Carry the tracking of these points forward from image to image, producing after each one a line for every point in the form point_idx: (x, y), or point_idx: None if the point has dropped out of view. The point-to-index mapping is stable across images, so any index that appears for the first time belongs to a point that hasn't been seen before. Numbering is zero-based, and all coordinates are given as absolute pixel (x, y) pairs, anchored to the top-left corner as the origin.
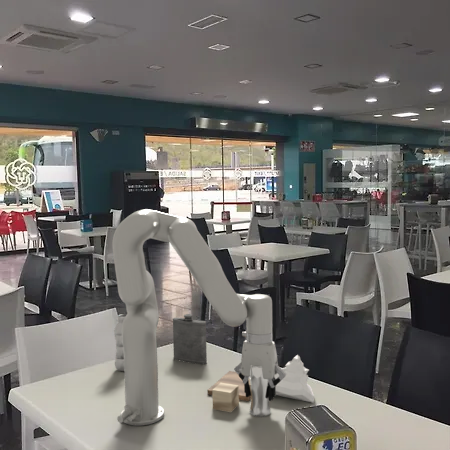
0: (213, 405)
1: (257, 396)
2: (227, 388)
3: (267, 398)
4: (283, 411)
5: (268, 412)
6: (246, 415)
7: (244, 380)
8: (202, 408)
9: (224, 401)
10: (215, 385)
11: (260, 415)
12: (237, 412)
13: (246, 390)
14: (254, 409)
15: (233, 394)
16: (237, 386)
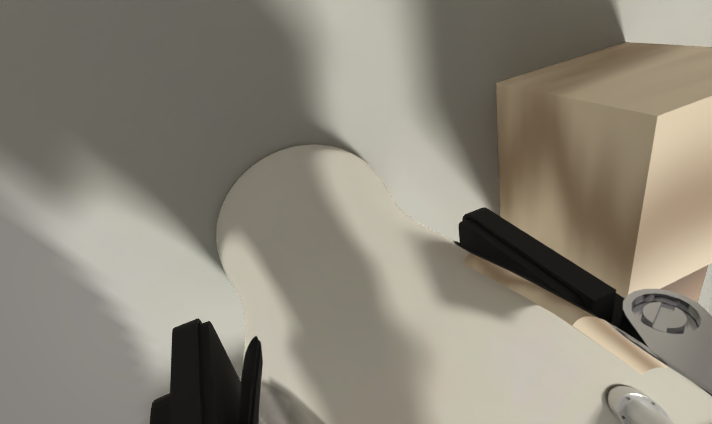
0: (648, 45)
1: (334, 244)
2: (702, 182)
3: (244, 335)
4: (163, 363)
5: (218, 250)
6: (368, 112)
7: (684, 329)
8: (686, 3)
9: (615, 77)
10: (694, 279)
11: (252, 170)
12: (454, 111)
13: (528, 246)
14: (324, 168)
15: (603, 172)
16: (628, 283)
